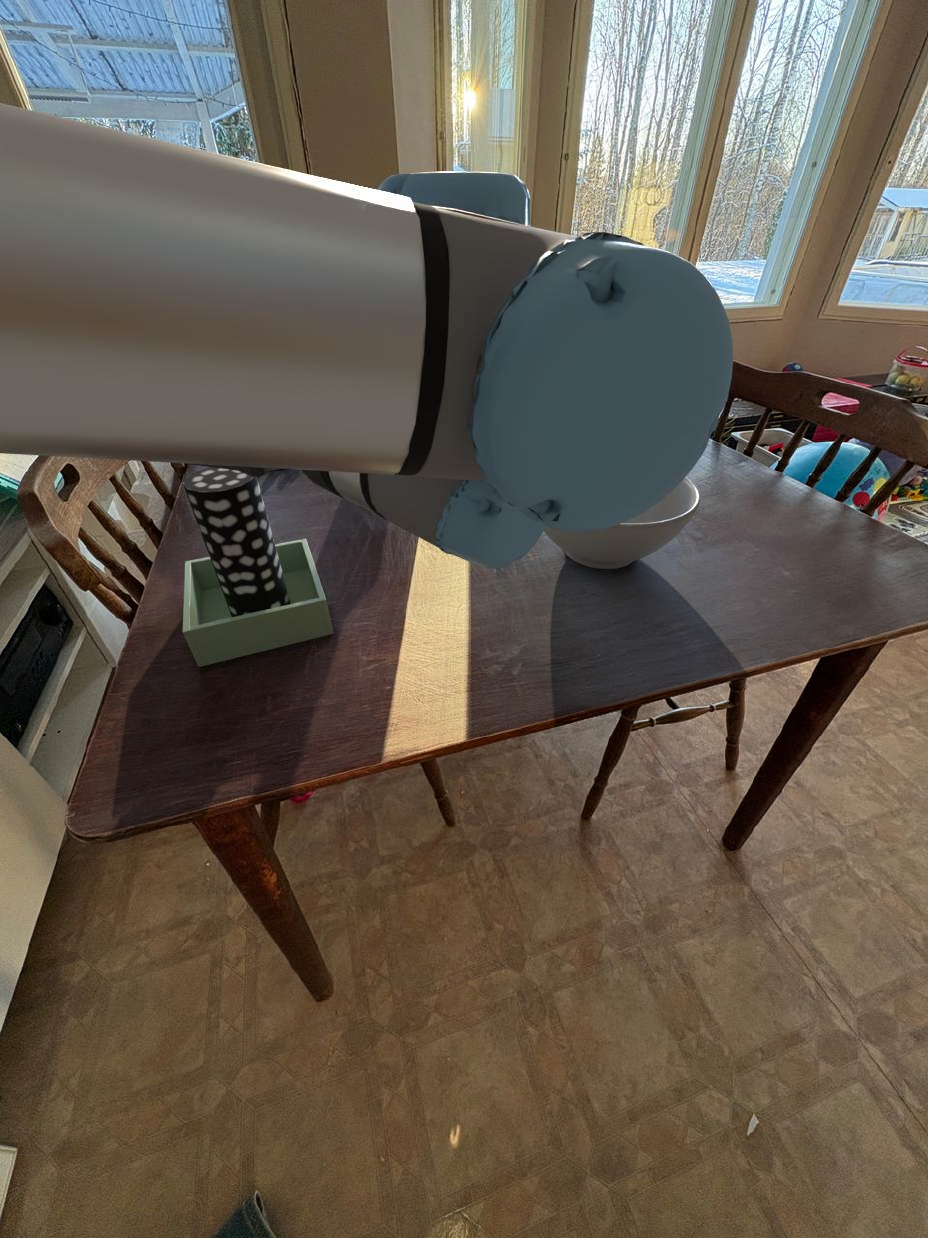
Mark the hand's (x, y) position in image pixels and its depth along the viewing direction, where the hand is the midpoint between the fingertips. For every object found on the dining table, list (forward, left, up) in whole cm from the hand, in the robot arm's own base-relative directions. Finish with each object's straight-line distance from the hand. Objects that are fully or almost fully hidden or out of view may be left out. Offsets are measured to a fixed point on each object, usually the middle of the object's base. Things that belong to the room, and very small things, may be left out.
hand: (231, 398), depth 50 cm
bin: (-4, +9, -32) cm, 33 cm away
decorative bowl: (+52, +5, -32) cm, 61 cm away
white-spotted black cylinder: (-4, +9, -31) cm, 33 cm away
